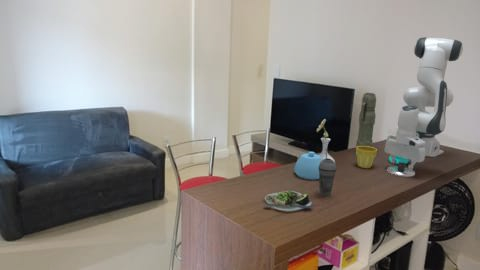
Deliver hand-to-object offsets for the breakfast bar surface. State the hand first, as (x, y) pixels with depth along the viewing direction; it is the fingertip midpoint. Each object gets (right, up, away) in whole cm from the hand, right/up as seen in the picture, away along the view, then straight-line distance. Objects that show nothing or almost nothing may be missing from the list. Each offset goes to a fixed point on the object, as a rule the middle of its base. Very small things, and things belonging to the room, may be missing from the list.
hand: (402, 165), depth 181 cm
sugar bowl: (-47, -4, -6) cm, 48 cm away
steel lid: (0, -4, +1) cm, 4 cm away
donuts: (+5, 0, +17) cm, 18 cm away
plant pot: (-16, -1, +9) cm, 18 cm away
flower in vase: (-37, 0, +10) cm, 38 cm away
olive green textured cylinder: (-7, +5, +35) cm, 36 cm away
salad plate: (-61, -12, -38) cm, 73 cm away
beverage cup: (-45, -10, -28) cm, 54 cm away
